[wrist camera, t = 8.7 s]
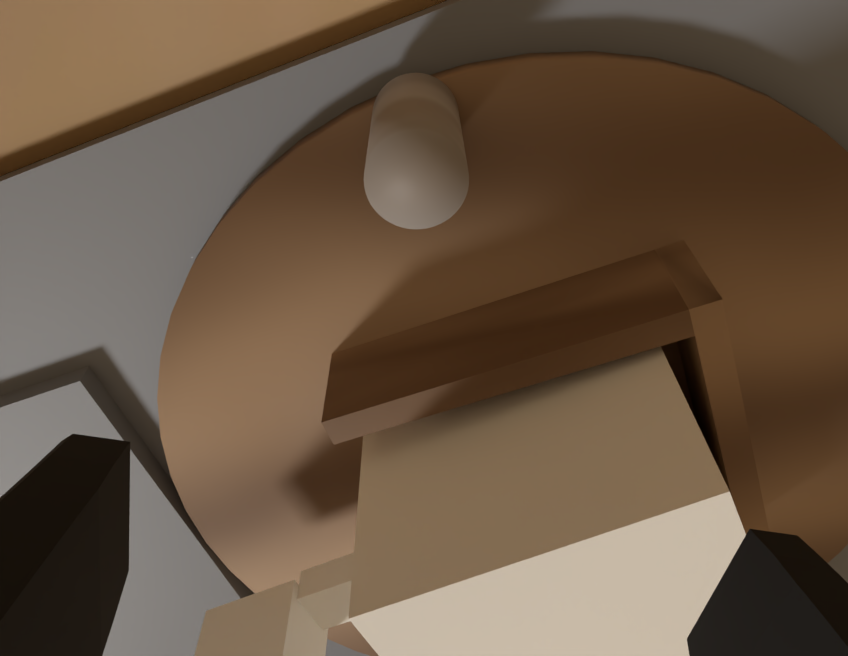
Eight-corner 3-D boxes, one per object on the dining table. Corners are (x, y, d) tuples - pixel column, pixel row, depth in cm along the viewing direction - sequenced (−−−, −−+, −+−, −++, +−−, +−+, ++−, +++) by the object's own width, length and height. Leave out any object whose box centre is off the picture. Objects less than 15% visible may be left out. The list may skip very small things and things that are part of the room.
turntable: (934, 573, 23) (1021, 697, 19) (345, 713, 26) (336, 840, 23) (901, -127, 13) (1055, -111, 10) (-6, 223, 17) (-107, 318, 13)
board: (72, 781, 29) (61, 813, 28) (-416, 340, 19) (-460, 367, 18) (961, 572, 23) (983, 603, 22) (946, -197, 13) (986, -199, 12)
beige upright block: (634, 291, 17) (729, 491, 12) (713, 492, 20) (815, 718, 15) (170, 477, 20) (85, 706, 14) (303, 629, 23) (271, 862, 18)
